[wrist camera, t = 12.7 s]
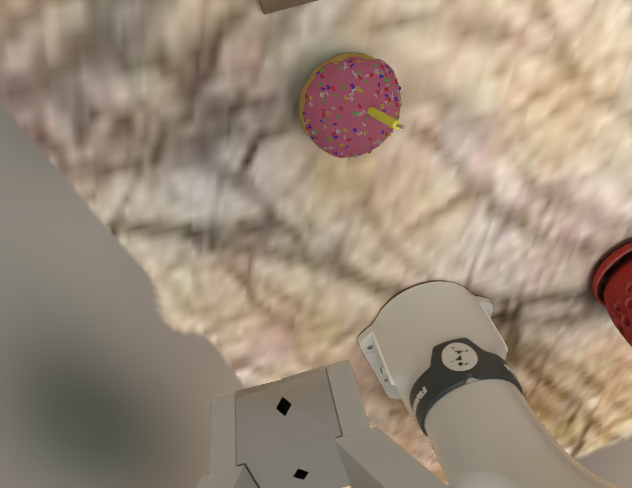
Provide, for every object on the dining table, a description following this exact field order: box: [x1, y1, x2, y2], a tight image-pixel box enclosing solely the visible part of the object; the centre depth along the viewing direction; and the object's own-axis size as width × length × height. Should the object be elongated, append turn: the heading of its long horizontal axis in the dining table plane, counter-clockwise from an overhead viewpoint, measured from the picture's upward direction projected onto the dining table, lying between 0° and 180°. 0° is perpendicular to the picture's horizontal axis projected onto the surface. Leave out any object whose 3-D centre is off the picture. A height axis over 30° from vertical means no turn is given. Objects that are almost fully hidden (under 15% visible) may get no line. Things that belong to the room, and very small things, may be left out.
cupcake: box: [299, 53, 405, 158], centre depth 35 cm, size 9×8×12 cm
